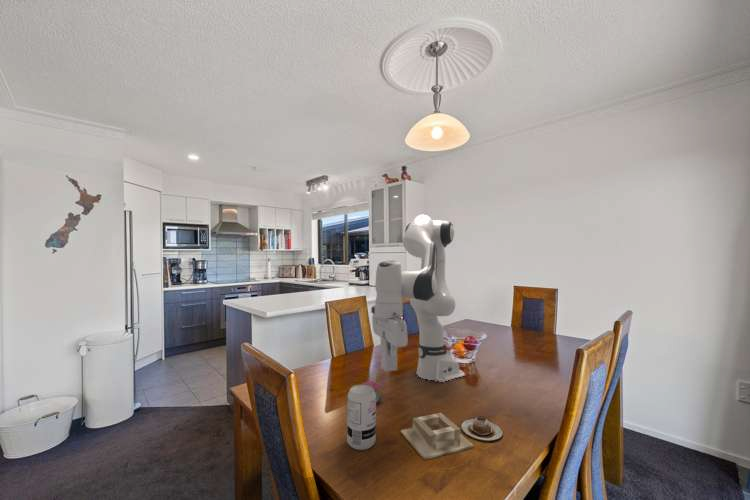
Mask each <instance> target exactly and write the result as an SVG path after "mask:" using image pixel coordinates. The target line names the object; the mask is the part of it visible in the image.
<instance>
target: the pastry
mask: <svg viewBox="0 0 750 500" xmlns="http://www.w3.org/2000/svg"><path fill="white" fill-rule="evenodd" d="M460 427H461V428H460V429H461V431H463V433H464V434H465V435H467V436H469V437H471V438H473V439H475V440H477V441H481V442H482V441H483V442H491V441H497V440H498V439H500V438H501V437H502V436H503V431H502V429H501V428H500V426H498V425H496V424H495V423H493V422H491V421H489V420H488V419H487V417H486V416H485V415H481V414H479V415H477V416H476V417H475V419H473V418H472V419H471V418H470V419H467V420H464V421H463V422H462V423H461V426H460ZM469 428H470V430H471V431H472V432H473V433H475V434H477V435H479V436H480V437H479V436H477V435H473V434H472V433H471V432H470V431H469ZM493 432H494V435H493V436H492V437H487V438H486V437H481V436H487V435H490V434H491V433H493Z"/></svg>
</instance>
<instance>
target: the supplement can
mask: <svg viewBox="0 0 750 500" xmlns="http://www.w3.org/2000/svg"><path fill="white" fill-rule="evenodd" d="M346 404H347V406H346V407H347V413H346V414H347V417H346V426H347V427H346V442H347V444H348V445H349V446H350V447H351V448H352V449H354V450H358V451H364V450H365V451H366V450H368V449H370V448H372V447H373V446H374V445H375V444H376V442H377V441H376V438H377V436H376V433H377V431H376V430H377V428H376V427H377V425H376V424H377V417H376V416H377V402H376V393H375V391H374V388H373V387H371V386H369V385H362V384H356V385H353V386H351V387H350V388H349V391H348V393H347V403H346Z"/></svg>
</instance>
